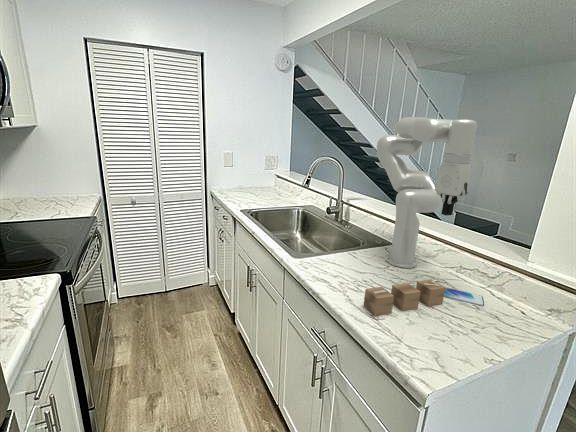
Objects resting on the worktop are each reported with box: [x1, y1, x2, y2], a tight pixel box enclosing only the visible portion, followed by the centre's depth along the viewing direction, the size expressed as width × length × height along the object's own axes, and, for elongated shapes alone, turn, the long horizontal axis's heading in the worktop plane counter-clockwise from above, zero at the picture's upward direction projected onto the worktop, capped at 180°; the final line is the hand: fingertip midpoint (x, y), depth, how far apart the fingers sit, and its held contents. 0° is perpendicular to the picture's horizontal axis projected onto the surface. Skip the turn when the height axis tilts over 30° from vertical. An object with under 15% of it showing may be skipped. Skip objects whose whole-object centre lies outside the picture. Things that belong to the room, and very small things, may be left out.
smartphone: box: [444, 286, 485, 307], centre depth 108 cm, size 7×1×15 cm
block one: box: [363, 286, 394, 317], centre depth 96 cm, size 6×6×6 cm
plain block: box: [390, 282, 421, 312], centre depth 100 cm, size 6×6×6 cm
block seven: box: [415, 279, 446, 308], centre depth 103 cm, size 6×6×6 cm
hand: (446, 214), depth 107 cm, fingers closed
